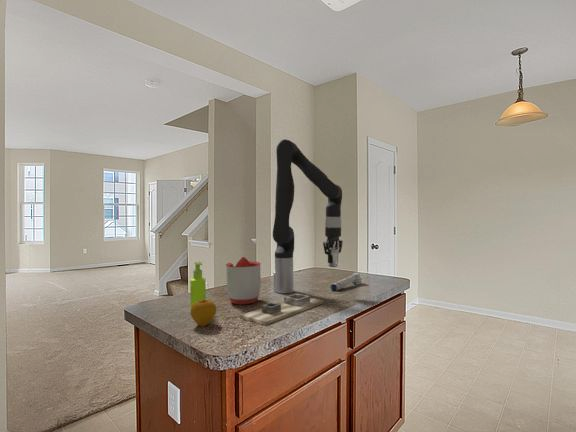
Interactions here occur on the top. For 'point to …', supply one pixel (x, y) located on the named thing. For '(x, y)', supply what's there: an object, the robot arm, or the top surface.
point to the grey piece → (346, 282)
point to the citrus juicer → (243, 281)
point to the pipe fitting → (334, 259)
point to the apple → (203, 312)
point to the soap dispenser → (197, 285)
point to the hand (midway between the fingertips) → (333, 262)
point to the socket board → (281, 309)
